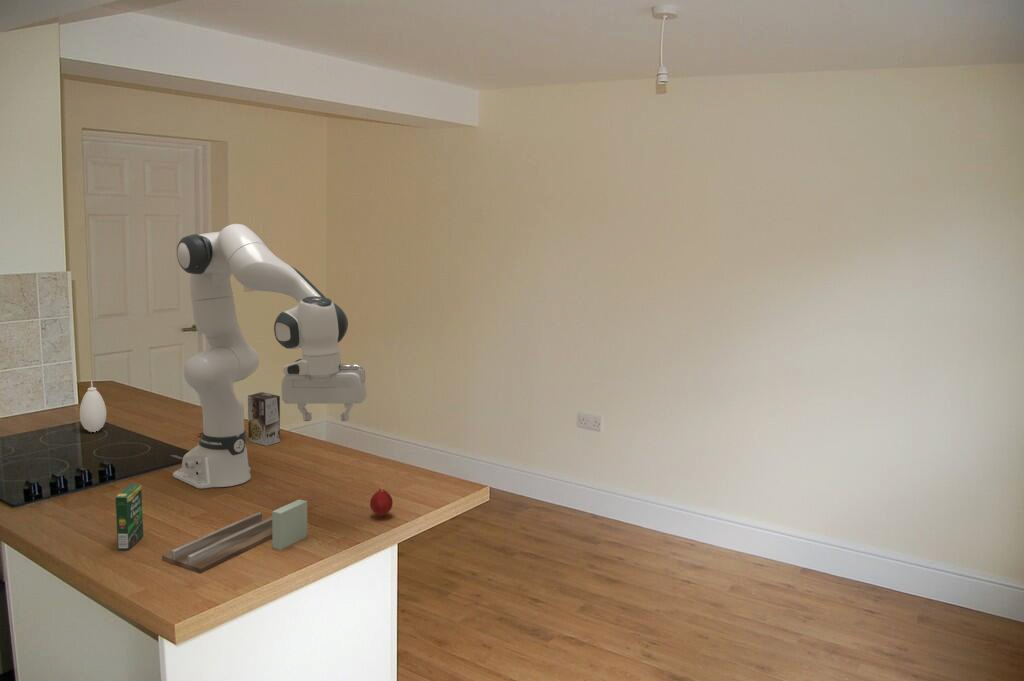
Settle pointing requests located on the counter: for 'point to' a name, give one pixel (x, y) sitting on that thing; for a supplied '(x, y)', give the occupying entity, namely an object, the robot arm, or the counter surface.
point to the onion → (381, 502)
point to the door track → (221, 544)
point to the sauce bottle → (92, 410)
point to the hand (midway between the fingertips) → (326, 420)
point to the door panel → (289, 524)
